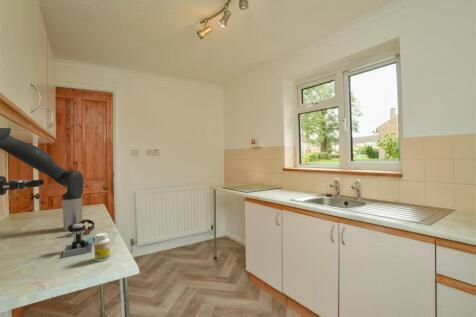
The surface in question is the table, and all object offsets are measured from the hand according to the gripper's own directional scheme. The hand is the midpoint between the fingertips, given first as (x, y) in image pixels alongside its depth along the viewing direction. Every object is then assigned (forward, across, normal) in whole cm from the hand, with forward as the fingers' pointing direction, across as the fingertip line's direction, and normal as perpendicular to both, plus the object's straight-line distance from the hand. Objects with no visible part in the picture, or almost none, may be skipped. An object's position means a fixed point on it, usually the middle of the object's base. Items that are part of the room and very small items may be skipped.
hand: (41, 182), depth 101 cm
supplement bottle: (+21, -20, +30) cm, 42 cm away
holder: (+12, -5, +30) cm, 33 cm away
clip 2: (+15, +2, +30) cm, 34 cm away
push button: (+12, -3, +29) cm, 32 cm away
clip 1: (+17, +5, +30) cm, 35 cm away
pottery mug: (+12, +24, +30) cm, 40 cm away
